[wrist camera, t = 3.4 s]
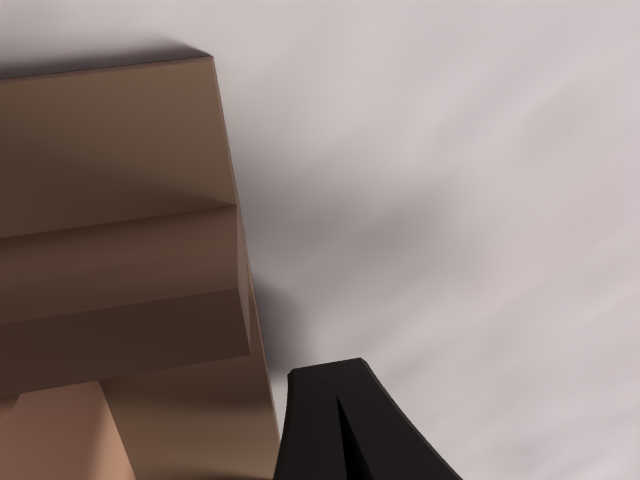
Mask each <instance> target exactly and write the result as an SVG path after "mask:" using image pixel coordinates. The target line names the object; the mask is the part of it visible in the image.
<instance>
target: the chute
mask: <svg viewBox="0 0 640 480" xmlns="http://www.w3.org/2000/svg"><path fill="white" fill-rule="evenodd" d="M98 380H99V383H100V386H101V388H102V391H103V393H104V396H105V399H106V401H107V404H108V407H109V409H110V412H111V415H112V417H113V420H114V422H115V425H116V428H117V430H118V433H119V436H120V438H121V441H122V443H123V446H124V449H125V451H126V454H127V457H128V459H129V462H130V465H131V467H132V470H133V472H134V475H135V478H136V480H273V476H274V471H275V467H276V462H277V457H278V453H279V448H280V443H281V442H280V436H279V430H278V424H277V419H276V413H275V407H274V402H273V396H272V390H271V384H270V379H269V373H268V367H267V361H266V356H265V350H264V344H263V339H262V333H261V327H260V321H259V316H258V310H257V304H256V298H255V293H254V287H253V281H252V276H251V270H250V264H249V258H248V253H247V247H246V241H245V236H244V230H243V224H242V218H241V213H240V207H239V201H238V195H237V190H236V184H235V178H234V173H233V167H232V161H231V155H230V150H229V144H228V138H227V132H226V127H225V121H224V115H223V110H222V104H221V98H220V92H219V87H218V81H217V75H216V70H215V64H214V58H213V56H206V57H197V58H188V59H179V60H170V61H161V62H151V63H142V64H133V65H124V66H115V67H106V68H97V69H88V70H79V71H70V72H61V73H52V74H43V75H34V76H25V77H16V78H7V79H0V397H2V396H8V395H14V394H20V393H26V392H32V391H38V390H44V389H50V388H56V387H62V386H68V385H74V384H80V383H86V382H92V381H98Z"/></svg>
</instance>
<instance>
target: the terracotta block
mask: <svg viewBox="0 0 640 480" xmlns="http://www.w3.org/2000/svg"><path fill="white" fill-rule="evenodd" d="M0 480H136V478H135V475H134V472H133V470H132V467H131V465H130V462H129V459H128V457H127V454H126V451H125V449H124V446H123V443H122V441H121V438H120V436H119V433H118V430H117V428H116V425H115V422H114V420H113V417H112V415H111V412H110V409H109V407H108V404H107V401H106V399H105V396H104V393H103V391H102V388H101V386H100V383H99V380H98V381H92V382H86V383H80V384H74V385H68V386H62V387H56V388H50V389H44V390H38V391H32V392H26V393H20V394H14V395H8V396H2V397H0Z"/></svg>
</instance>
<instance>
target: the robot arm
mask: <svg viewBox="0 0 640 480" xmlns="http://www.w3.org/2000/svg"><path fill="white" fill-rule="evenodd" d="M287 378H288V394H287V406H286V415H285V421H284V427H283V434H282V439H281V443H280V448H279V453H278V457H277V462H276V467H275V471H274V476H273V480H463V479H462V478H461V477H460V476H459V475H458V474H457V473H456V472H455V471H454V470H453V469H452V468H451V467H450V466H449V465H448V463H447V462H446V461H445V460H444V459H443V458H442V457H441V456H440V455H439V454H438V453H437V451H436V450H435V449H434V448H433V447H432V446H431V445H430V443H429V442H428V441H427V440H426V439H425V438H424V437H423V435H422V434H421V433H420V432H419V431H418V430H417V428H416V427H415V426H414V425H413V424H412V423H411V421H410V420H409V419H408V418H407V417H406V415H405V414H404V413H403V412H402V410H401V409H400V408H399V407H398V405H397V404H396V403H395V401H394V400H393V399H392V398H391V396H390V395H389V394H388V392H387V391H386V390H385V388H384V387H383V386H382V384H381V383H380V381H379V380H378V379H377V377H376V376H375V374H374V373H373V371H372V370H371V368H370V367H369V365H368V363H367V362H366V361H365V360H363V359H362V358H355V359H349V360H343V361H337V362H331V363H325V364H319V365H313V366H307V367H301V368H295V369H292V371H291V372H290V373H289V374H288V375H287Z"/></svg>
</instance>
